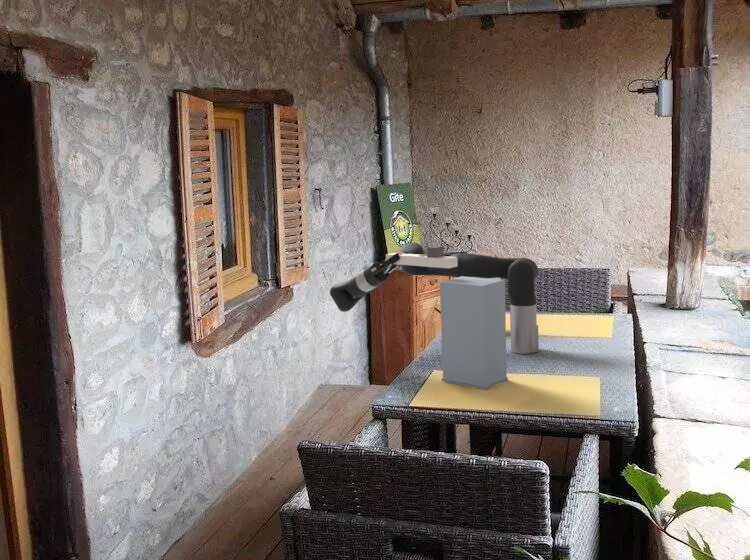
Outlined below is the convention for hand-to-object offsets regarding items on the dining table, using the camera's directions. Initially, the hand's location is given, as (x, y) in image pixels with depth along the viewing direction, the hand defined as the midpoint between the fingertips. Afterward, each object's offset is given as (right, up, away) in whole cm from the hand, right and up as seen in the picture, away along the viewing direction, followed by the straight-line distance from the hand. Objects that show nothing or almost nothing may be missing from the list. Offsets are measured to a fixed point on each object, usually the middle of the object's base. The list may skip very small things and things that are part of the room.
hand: (403, 255), depth 255 cm
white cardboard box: (+6, -3, -4) cm, 8 cm away
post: (+22, -40, -12) cm, 47 cm away
